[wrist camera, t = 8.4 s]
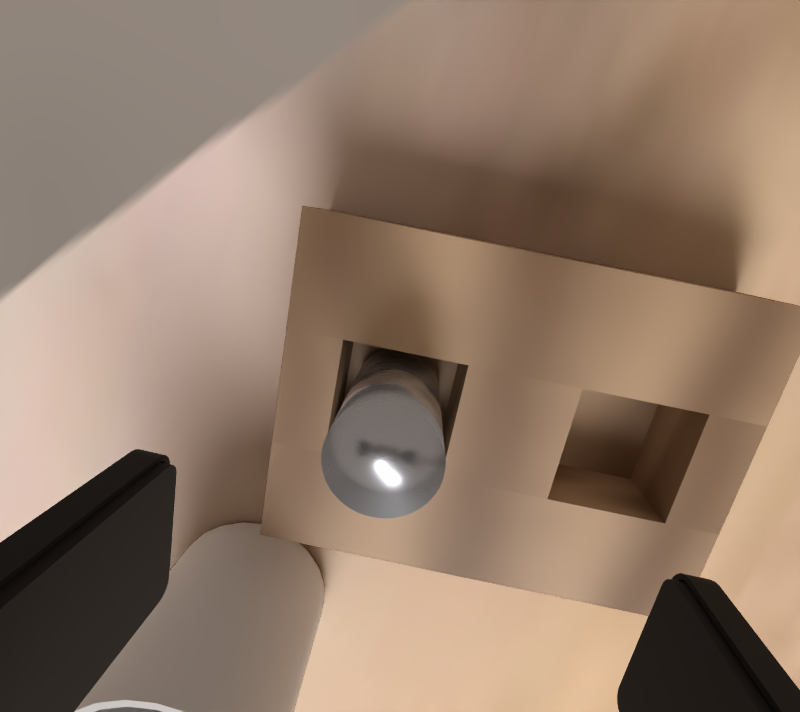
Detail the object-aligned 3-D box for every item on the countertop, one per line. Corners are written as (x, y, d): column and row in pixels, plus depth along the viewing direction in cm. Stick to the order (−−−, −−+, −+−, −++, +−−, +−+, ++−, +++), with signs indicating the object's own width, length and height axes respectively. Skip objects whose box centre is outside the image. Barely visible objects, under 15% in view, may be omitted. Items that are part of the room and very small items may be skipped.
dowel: (445, 352, 18) (457, 417, 12) (429, 427, 19) (432, 528, 12) (365, 337, 18) (330, 392, 12) (353, 412, 19) (313, 505, 12)
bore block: (736, 291, 18) (819, 310, 14) (634, 550, 21) (679, 622, 18) (329, 209, 18) (302, 205, 14) (290, 479, 22) (259, 534, 18)
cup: (356, 600, 23) (312, 822, 15) (206, 680, 25) (90, 915, 17) (265, 491, 22) (158, 663, 13) (115, 584, 24) (-63, 785, 15)
